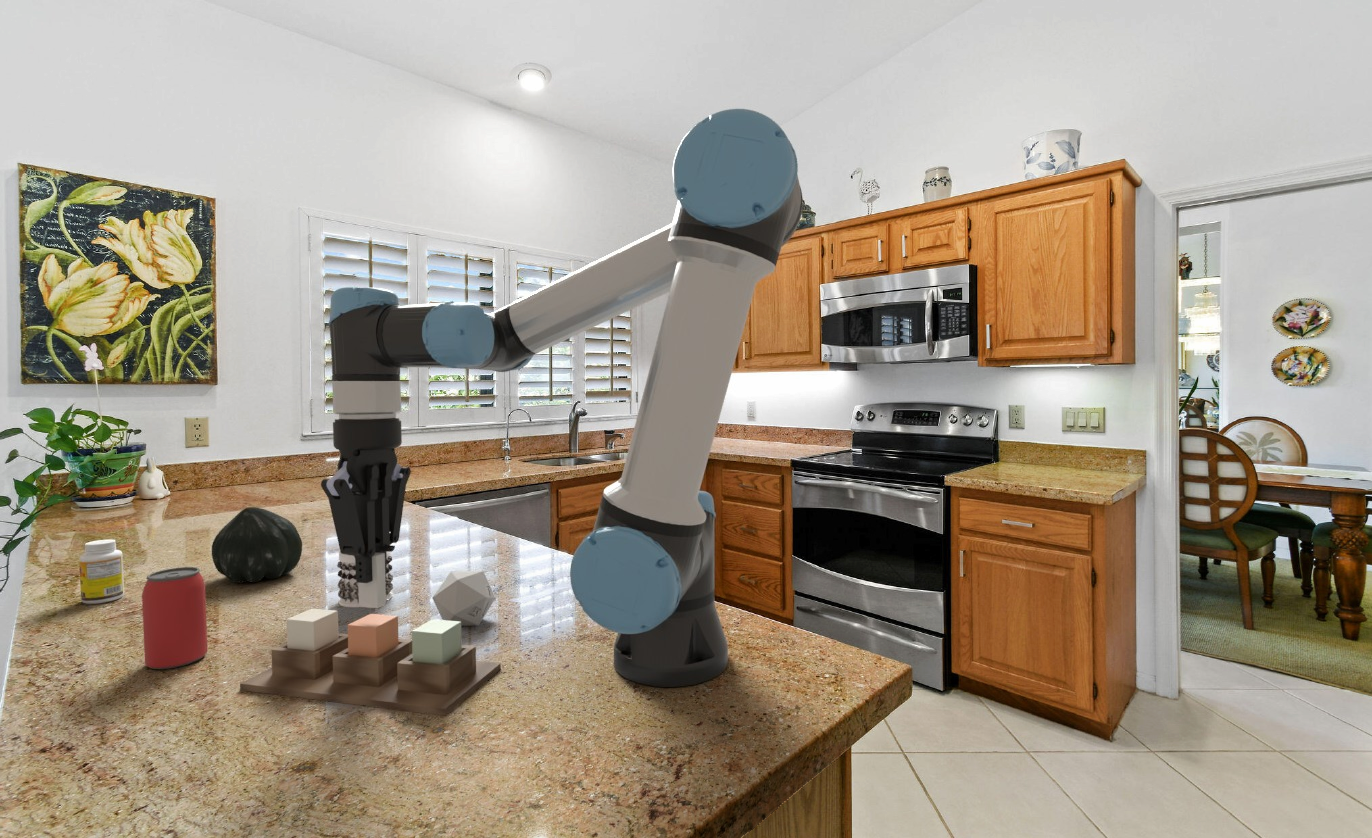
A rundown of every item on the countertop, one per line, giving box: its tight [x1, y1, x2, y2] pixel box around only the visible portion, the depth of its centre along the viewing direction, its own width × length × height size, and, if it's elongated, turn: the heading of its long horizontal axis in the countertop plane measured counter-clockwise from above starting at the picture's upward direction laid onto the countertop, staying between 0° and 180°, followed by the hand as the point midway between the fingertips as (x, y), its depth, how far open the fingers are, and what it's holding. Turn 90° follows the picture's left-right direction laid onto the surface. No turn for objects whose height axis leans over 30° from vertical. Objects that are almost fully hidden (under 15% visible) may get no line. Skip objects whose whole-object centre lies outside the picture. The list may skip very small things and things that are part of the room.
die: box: [432, 570, 496, 627], centre depth 98 cm, size 8×9×10 cm
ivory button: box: [286, 608, 339, 651], centre depth 81 cm, size 4×4×4 cm
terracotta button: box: [347, 613, 400, 658], centre depth 79 cm, size 4×4×4 cm
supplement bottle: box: [78, 538, 125, 605], centre depth 110 cm, size 6×6×10 cm
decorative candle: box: [335, 464, 394, 609], centre depth 109 cm, size 9×9×25 cm
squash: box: [211, 506, 303, 584], centre depth 123 cm, size 14×15×15 cm
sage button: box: [411, 618, 463, 665], centre depth 77 cm, size 4×4×4 cm
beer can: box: [141, 566, 208, 670], centre depth 85 cm, size 7×7×12 cm
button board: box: [239, 632, 502, 717], centre depth 79 cm, size 28×12×4 cm, turn 77°
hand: (372, 605), depth 79 cm, fingers closed
